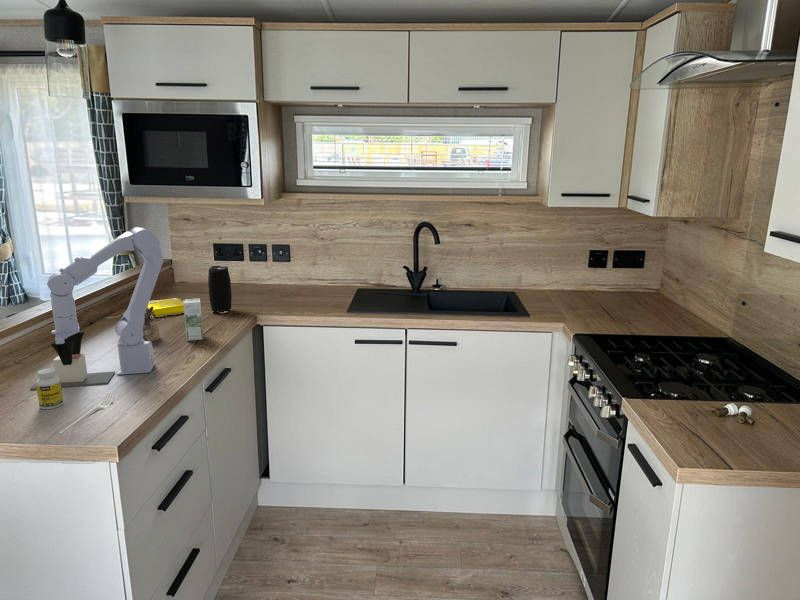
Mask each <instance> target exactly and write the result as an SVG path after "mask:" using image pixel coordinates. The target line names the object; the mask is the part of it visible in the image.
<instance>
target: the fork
mask: <svg viewBox="0 0 800 600" xmlns="http://www.w3.org/2000/svg"><path fill="white" fill-rule="evenodd" d="M115 397H116V394H113V393H112V394H110V393H109V394H108V393H107V394H106V395H105V397H104V398H103V399H102V401H101V402H99V404H97V405H98V406H100V405H101V407H96V406H93V408H91V409H90V410H89V411H87V412H86V413H85V414H83V415H81V417H79V418H78V419H76V420H75V421H73V422H72V423H70V425H68V426H66V427H65V428H64V429H63V430H61V431H60V432H59V433H61V432H63V433H65V432H66V431H68V430H69V429H71V428H72V426H73V425H74V426H76V425H77V424H79V423H80V421H81V422H82V421H84V420H85V419H87V418H88V417H89V415H90V414H91V415H92V414H94V413H96V412H97V411H98V410H104V409H106V408H108V407H109V406H110V405H112V403H113V401H114V399H115ZM104 406H105V407H104ZM103 408H104V409H103ZM91 415H90V416H91ZM87 416H88V417H87ZM86 417H87V418H86ZM83 419H84V420H83ZM78 422H79V423H78ZM75 424H76V425H75ZM74 426H73V427H74ZM70 427H71V428H70ZM68 428H69V429H68ZM67 429H68V430H67ZM65 430H66V431H65ZM64 431H65V432H64Z"/></svg>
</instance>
